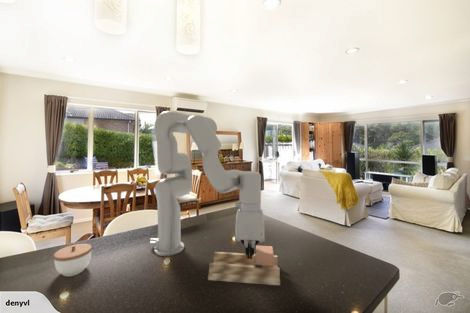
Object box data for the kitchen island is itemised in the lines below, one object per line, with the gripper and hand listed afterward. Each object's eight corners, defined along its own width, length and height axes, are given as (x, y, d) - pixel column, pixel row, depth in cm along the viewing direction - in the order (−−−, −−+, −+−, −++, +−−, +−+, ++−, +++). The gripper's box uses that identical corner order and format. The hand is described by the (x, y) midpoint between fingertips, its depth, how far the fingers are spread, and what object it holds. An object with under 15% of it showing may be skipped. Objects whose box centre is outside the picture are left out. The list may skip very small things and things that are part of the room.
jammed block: (255, 273, 71) (255, 253, 71) (255, 263, 77) (256, 245, 77) (273, 274, 71) (273, 254, 71) (272, 264, 77) (272, 246, 76)
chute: (208, 279, 70) (208, 266, 70) (215, 260, 82) (215, 249, 82) (280, 285, 68) (280, 271, 67) (276, 265, 80) (276, 252, 79)
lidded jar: (55, 269, 76) (54, 244, 75) (91, 260, 82) (90, 236, 82) (52, 285, 67) (52, 256, 67) (92, 273, 74) (92, 247, 73)
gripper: (227, 208, 71) (227, 261, 72) (272, 210, 69) (271, 264, 70) (230, 202, 78) (230, 250, 79) (270, 204, 77) (270, 253, 77)
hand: (249, 256), depth 74 cm, fingers closed
